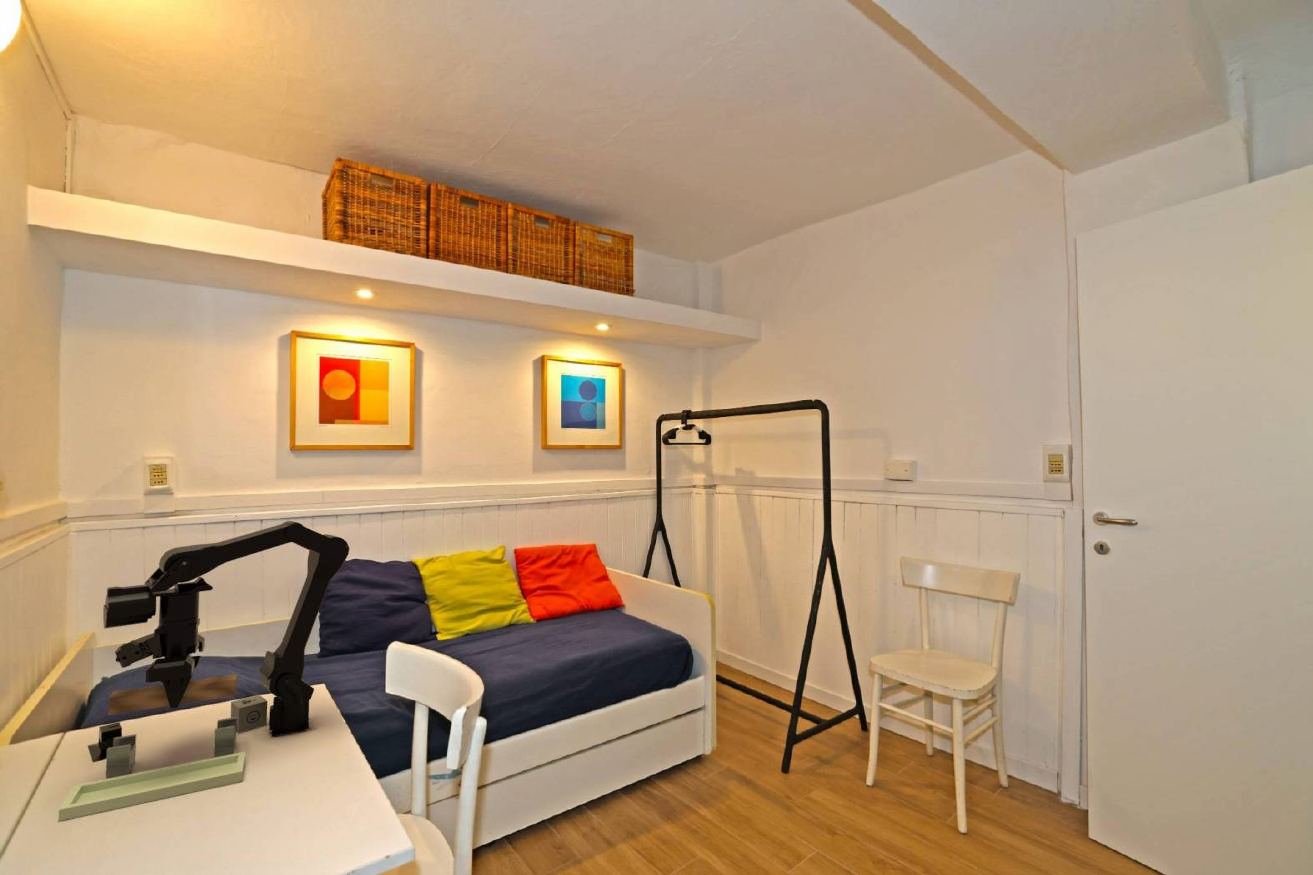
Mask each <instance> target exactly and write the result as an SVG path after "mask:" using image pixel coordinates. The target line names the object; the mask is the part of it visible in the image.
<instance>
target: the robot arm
mask: <svg viewBox="0 0 1313 875" xmlns="http://www.w3.org/2000/svg"><path fill="white" fill-rule="evenodd" d="M290 543H293V544H295V545H297V546H299V547H301V548H303V549H306V550H308V556H307V568H306V569H307V570H306V571H307V573H306V574H307V575H306V578H305V580H304V584H303V585H302V588H301V591H300V593H299V597H298V599H297V601H296V605H295V607H294V609H293V612H292V615H291V616H290V620H289V621H288V625H287V628H286V631H285V633H284V635H283V638H282V641H281V642H280V644H279V645H278V647H277V648H276V649H275V650H274V651H270V650H267V651H266V653H265V654H264V661H263V663H262V665H261V666H260V668H258V672H259V673H260V677H259V678H260V682H261V684H262V685H263V687H264V688H265V689H267V691H269V692H270V693H271V694H272V695H273V696H274V697H273V699H272V700H273V701H272V705H270V706H269V714H268V715H269V719H268V720H269V721H268V731H269V732H271V733H270V734H271V737H272V738H273V737H277V736H278V737H279V736H283V735H284V736H285V735H289V734H293V733H300V732H305V731H308V730H310V700H311V699H312V697H313V694H314V692H315V688H314V687H313V686H312V685H310V684H309V683H308V682H306V681H305V680H304V679H303V676H304V670H305V650H306V646H307V644H308V641H309V639H310V635H311V633H312V630H313V628H314V625H315V623H316V621H317V617H318V615H319V611H320V609H321V606H322V604H323V600H324V598H325V595H326V593H327V590H328V589H329V588H328V587H329V586H330V585H329V584H330V582H331V580H333V578H334V577H335V575H336V574H337V573H338V572H339V571H340V570H341V569H342V566H343V564H344V563H345V561H346V560H347V558H348V555H349V553H350V546H349V543H348V542H347V541H346V539H344V538H342V537H339V536H336V535H332V534H326V533H325V534H322V533H319V532H317V531H316V530H313V529H310V528H308V527H306V526H304V525H303V524H302V523H300V522H296V521H293V520H288V521H287V520H286V521H284V522H282V523H281V524H277V525H274V526H270V527H267V528H264V529H263V528H262V529H260V530H256V531H253V532H250V533H246V534H243V535H239V536H236V537H233V538H228V539H225V540H222V541H218V542H211V543H203V544H202V543H201V544H200V543H199V544H191V545H186V546H176V547H174V548H171V549H169V550H167V551H166V552H164V553H163V554H162V556H161V557H160V559H159V563H158V567H157V569H156V570H155V571H153V573H152V574H151V575H150V576H149V577H148V578H147V580H146V581H144V584H139V585H130V586H110V587H107V588H106V594H105V596H106V597H105V603H104V604H103V611H102V612H103V613H102V614H103V616H102V617H103V628H104V629H112V628H118V627H119V628H120V627H125V626H133V625H137V624H138V625H140V624H145V623H146V624H147V623H148V621H149V620H150V619H152V618H153V617H154V616H156V613H157V597H159V607H158V608H159V610H158V625H157V627H156V628H155V629H154V630H153V633H150V634H147V635H144V636H142V637H140V638H137V639H132V640H130V641H128V642H126V643H122V645H120V646H119V647H117V649H116V650H115V651H114V654H115V656H116V657H115V662H116V663H119V665H120V667H121V668H123V669H124V668H127V667H130V666H131V665H132V664H134V663H137V662H139V661H142V660H144V659H146V658H150V657H151V656H152V659H153V660H154V659H155V660H154V661H153V662H152V663H151V664H149V666H148V667H147V669H146V670H145V683H148V684H149V683H155V682H161V683H162V685H164V688H165V691H166V695H167V698H168V702H169V705H170V706H169V708H170V709H176V708H177V709H178V708H179V705H181V704H180V702H181V699H182V697H183V695H184V693H185V691H186V689H187V686H188V684H189V682H190V681H192V680H191V679H192V678H193V675H194V673H195V671H196V668H197V666H198V664H199V663H200V660H201V658H202V655H192V654H196V652H197V650H198V652H199V653H201V652H204V649H205V641H206V640H205V639H206V638H205V637H203V636H202V635H201V634H199V626H200V624H201V618H199V616H200V614H199V611H200V610H199V609H200V593H201V592H207V591H208V592H209V591H212V590H213V589H214V587H213V586H212V585H211V584H209V583H208V582H207V581H206V580H205V579H204V578H203V576H204V575H206V574H207V573H210V572H212V571H213V570H214V569H216V568H218V567H220V566H222V565H224V564H225V563H229V562H232V561H234V560H237V559H241V558H244V557H248V556H251V555H254V554H257V553H261V552H264V551H267V550H269V549H274V548H277V547H280V546H283V545H286V544H290ZM195 579H196V580H195ZM193 580H194V581H193Z"/></svg>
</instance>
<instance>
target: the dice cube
mask: <svg viewBox="0 0 1313 875" xmlns="http://www.w3.org/2000/svg"><path fill="white" fill-rule="evenodd" d="M232 717H237V732H236V734H241V733H245V732H248V731H252V730H255V729H258V728H261V727H266V726H268V725H267V723H268V700H267V698H265V697H263V696H261V695H260V694H256V695H253V696H249V697H244V698H240V699H237V700H231V702H230V718H232Z"/></svg>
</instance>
